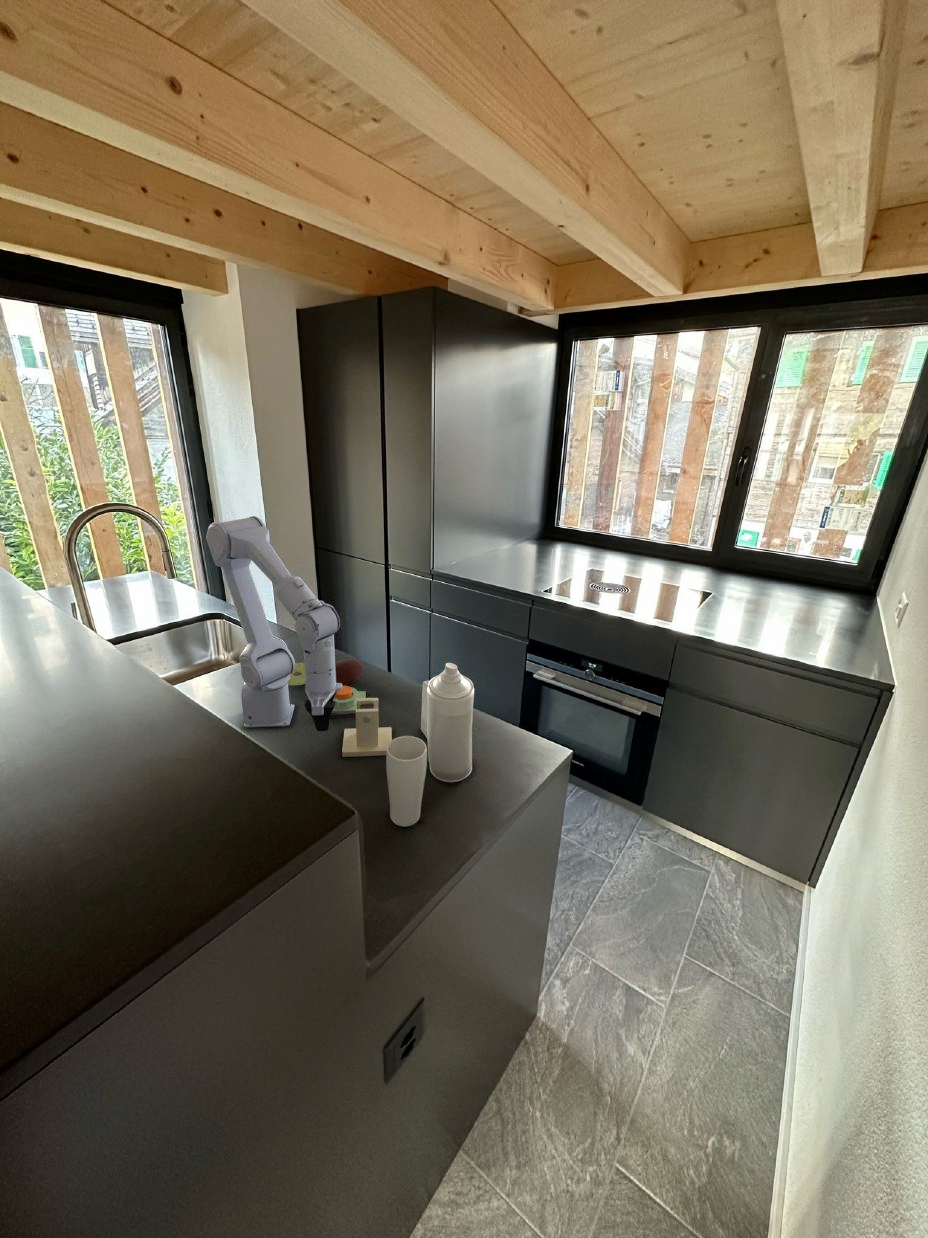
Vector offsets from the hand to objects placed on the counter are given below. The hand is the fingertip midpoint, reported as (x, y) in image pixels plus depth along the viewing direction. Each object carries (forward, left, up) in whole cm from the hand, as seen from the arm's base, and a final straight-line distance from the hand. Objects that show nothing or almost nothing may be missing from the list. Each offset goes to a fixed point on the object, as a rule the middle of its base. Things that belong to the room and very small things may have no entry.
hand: (323, 724), depth 105 cm
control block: (+3, +15, -5) cm, 16 cm away
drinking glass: (+16, -21, -5) cm, 27 cm away
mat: (-9, +27, -5) cm, 29 cm away
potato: (+3, +25, -5) cm, 26 cm away
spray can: (+25, -10, -5) cm, 27 cm away
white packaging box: (+25, +2, -5) cm, 25 cm away
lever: (+4, 0, +1) cm, 4 cm away
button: (+3, +15, -3) cm, 16 cm away
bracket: (+9, 0, -5) cm, 10 cm away
